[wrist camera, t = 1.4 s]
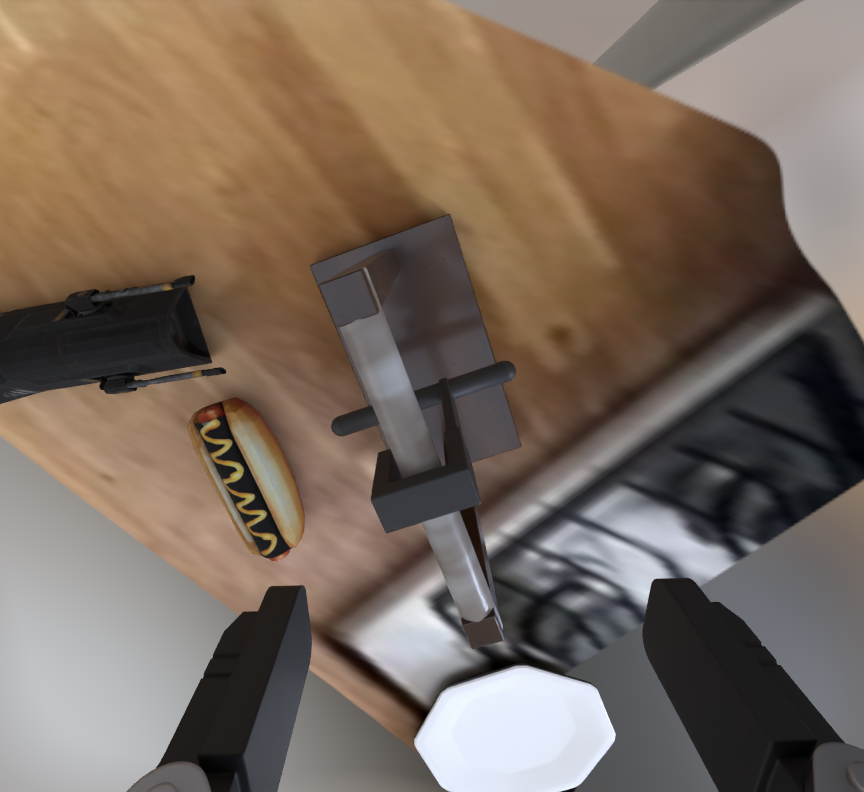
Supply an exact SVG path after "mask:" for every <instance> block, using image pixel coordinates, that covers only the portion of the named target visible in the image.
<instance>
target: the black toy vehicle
mask: <svg viewBox="0 0 864 792" xmlns="http://www.w3.org/2000/svg"><path fill="white" fill-rule="evenodd" d="M194 282H195V276H194V275H191V276H184V277H181V278H179V279H177V280H175V281H174V282H170V283H165V284H159V285H153V286H147V287H141V288H139V287H134V288H130V289H128V288H126V289H124V290H116V291H110V290H106V291H105V292H101V293H100V292H99V291H98V290H96V289H93V290H87V291H81V292H76V293H73V294H71V295H69V296H68V297H67V298H66V301H65V302H59V303H53V304H47V305H41V306H35V307H30V308H24V309H19V310H14V311H11V312H5V313H0V404H1V403H5V402H8V401H12V400H15V399H19V398H22V397H25V396H29V395H32V394H36V393H40V392H43V391H47V390H53V389H60V388H67V387H73V386H79V385H85V384H91V383H97V382H101V383H100V385H99V387H100V389H101V390H104V391H105V392H106V394H119V393H127V392H131V391H136V390H137V387H146V386H147V385H150V384H155V383H157V384H158V383H165V382H171V381H177V380H183V379H189V378H195V377H201V376H205V375H206V376H213V375H220V374H225V373H226V370H225V369H224V368H221V367H220V368H214V369H208V370H199V371H193V372H187V373H181V374H175V375H169V376H163V377H160V378H156V379H150V380H144V381H143V380H134V376H139V375H144V374H149V373H155V372H161V371H167V370H173V369H179V368H185V367H191V366H197V365H203V364H209V363H212V360H211V357H210V354H209V351H208V348H207V346H206V343H205V340H204V337H203V334H202V331H201V328H200V325H199V322H198V319H197V316H196V313H195V310H194V307H193V304H192V301H191V298H190V295H189V292H188V289H187V286H192V285H193V284H194Z"/></svg>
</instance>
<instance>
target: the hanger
mask: <svg viewBox="0 0 864 792" xmlns="http://www.w3.org/2000/svg"><path fill="white" fill-rule="evenodd" d="M515 374H516V369H515V366H514V365H513V364H512V363H511V362H509V361H501V362H498V363H495V364H492V365H489V366H486V367H483V368H480V369H478V370H475V371H472V372H469V373H466V374H463V375H460V376H457V377H454V378H451V379H448V380H447V378H443V379H440V380H439V383H436V384H433V385H430V386H427V387H424V388H421V389H418V390H415V391H414V393H415V396H416V398H417V401H418V404H419V406H420V409H421V410H424V409H427V408H430V407H433V406H436V405H439V404H442V407H443V413H444V420H445V427H446V431H444V435H445V442H446V450H447V457H448V464H447V465H444V466H441V467H438V468H434V469H431V470H428V471H425V472H422V473H419V474H416V475H413V476H410V477H407V478H402V475H401V473H400V471H399V468H398V466H397V464H396V461H395V459H394V456H393V454H392V452H391V449H388V450H385V451H382V452H379V453H378V457H377V463H376V469H375V475H374V481H373V487H372V495H371V502H372V504H373V506H374V508H375V510H376V512H377V515H378V517H379V519H380V521H381V523H382V526H383V528H384V530H385V532H386V533H390V532H393V531H396V530H399V529H402V528H406V527H409V526H412V525H415V524H418V523H422V522H425V521H428V520H431V519H434V518H438V517H441V516H444V515H447V514H450V513H454V512H457V511H460V510H463V509H466V508H470V507H473V506H476V505H479V504H480V503H481V501H480V496H479V492H478V488H477V484H476V480H475V475H474V471H473V467H472V463H471V459H470V455H469V452H468V450H467V447H466V444H465V441H464V438H463V434H462V430H461V425H460V421H459V417H458V412H457V408H456V403H455V400H454V399H457V398H460V397H463V396H466V395H469V394H472V393H475V392H478V391H481V390H484V389H487V388H490V387H493V386H496V385H499V384H502V383H505V382H508V381H510V380H512V379H513V378H514V376H515ZM379 424H380V423H379V421H378V418H377V416H376V414H375V411H374V409H373V406H372V405H371V406H368V407H365V408H362V409H359V410H356V411H353V412H350V413H347V414H344V415H341V416H338V417H336V418H335V419H334V420H333V422H332V425H331V428H332V431H333V432H334V434H336V435H338V436H346V435H349V434H352V433H355V432H358V431H361V430H364V429H367V428H370V427H373V426H376V425H379Z"/></svg>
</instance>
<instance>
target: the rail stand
mask: <svg viewBox="0 0 864 792" xmlns="http://www.w3.org/2000/svg"><path fill="white" fill-rule="evenodd" d="M310 268H311V271H312V273H313V275H314V278H315V280H316V282H317V285H318V287H319V289H320V292H321V294H322V297H323V299H324V301H325V304H326V306H327V308H328V311H329V313H330V316H331V318H332V320H333V323H334V325H335V327H336V330H337V332H338V334H339V337H340V339H341V342H342V344H343V346H344V349H345V351H346V353H347V356H348V358H349V360H350V363H351V365H352V368H353V370H354V372H355V375H356V377H357V379H358V382H359V384H360V386H361V389H362V391H363V394H364V396H365V398H366V401H367V403H368V405H369V406H371V405H372V406H373V409H374V411H375V414H376V416H377V418H378V421H379V423H380V424H379V425H377V427H378V429H379V431H380V434H381V436H382V438H383V441H384V443H385V446H386V448H387V450H388V449H391V452H392V454H393V456H394V459H395V461H396V464H397V466H398V468H399V471H400V473H401V475H402V478H407V477H410V476H413V475H416V474H419V473H422V472H425V471H428V470H431V469H434V468H438V467H441V466H444V465H447V464H448V457H447V450H446V442H445V435H444V431H446V427H445V420H444V413H443V407H442V404H439V405H436V406H433V407H430V408H427V409H424V410H421V409H420V406H419V404H418V401H417V398H416V396H415V393H414V391H415V390H418V389H421V388H424V387H427V386H430V385H433V384H436V383H439V380H440V379H443V378H447V380H448V379H451V378H454V377H457V376H460V375H463V374H466V373H469V372H472V371H475V370H478V369H480V368H483V367H486V366H489V365H492V364H495V363H496V362H495V359H494V356H493V352H492V349H491V346H490V343H489V339H488V336H487V333H486V330H485V326H484V323H483V320H482V317H481V313H480V310H479V307H478V304H477V300H476V297H475V294H474V291H473V287H472V284H471V281H470V278H469V274H468V271H467V268H466V265H465V261H464V258H463V255H462V252H461V248H460V245H459V242H458V239H457V235H456V232H455V229H454V226H453V222H452V219H451V216H450V214H447V215H445V216H442V217H439V218H437V219H434V220H431V221H428V222H426V223H423V224H420V225H418V226H415V227H412V228H409V229H407V230H404V231H401V232H399V233H396V234H393V235H391V236H388V237H385V238H382V239H380V240H377V241H374V242H372V243H369V244H366V245H363V246H361V247H358V248H355V249H353V250H350V251H347V252H344V253H342V254H339V255H336V256H334V257H331V258H328V259H325V260H323V261H320V262H317V263H315V264H312V265H310ZM454 400H455V403H456V408H457V412H458V417H459V421H460V425H461V430H462V434H463V438H464V441H465V444H466V447H467V450H468V452H469V455H470V459H471V463H472V462H475V461H478V460H482V459H485V458H488V457H491V456H494V455H497V454H501V453H504V452H507V451H510V450H513V449H516V448H520V447H521V443H520V440H519V437H518V434H517V430H516V427H515V424H514V421H513V417H512V414H511V411H510V408H509V404H508V401H507V398H506V395H505V391H504V388H503V385H502V384H499V385H496V386H493V387H490V388H487V389H484V390H481V391H478V392H475V393H472V394H469V395H466V396H463V397H460V398H457V399H454ZM422 525H423V528H424V530H425V533H426V535H427V537H428V540H429V542H430V545H431V547H432V549H433V552H434V554H435V556H436V559H437V561H438V564H439V566H440V568H441V571H442V573H443V575H444V578H445V580H446V583H447V585H448V587H449V590H450V592H451V595H452V597H453V599H454V602H455V604H456V606H457V609H458V611H459V614H460V616H461V622H462V627H463V629H464V631H465V634H466V636H467V639H468V641H469V643H470V646H471V648H472V649H475V648H478V647H482V646H485V645H489V644H493V643H496V642H500V641H503V640H504V635H503V630H502V629H503V625H502V621H501V619H500V615H499V610H498V605H497V600H496V595H495V591H494V586H493V581H492V576H491V571H490V566H489V561H488V556H487V551H486V546H485V541H484V536H483V531H482V526H481V521H480V517H479V512H478V507H477V505H476V506H473V507H470V508H466V509H463V510H460V511H457V512H454V513H450V514H447V515H444V516H441V517H438V518H434V519H431V520H428V521H425V522H422Z"/></svg>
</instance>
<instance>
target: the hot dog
mask: <svg viewBox="0 0 864 792" xmlns="http://www.w3.org/2000/svg"><path fill="white" fill-rule="evenodd" d="M188 430H189V435H190V438H191V440H192V443H193V446H194V449H195V451H196V453H197V455H198V457H199V459H200V461H201V463H202V464H203V466H204V468H205V470H206V472H207V474H208V476H209V478H210V480H211V482H212V484H213V486H214V487H215V489H216V491H217V493H218V495H219V497H220V499H221V501H222V503H223V505H224V506H225V508H226V510H227V512H228V514H229V516H230V518H231V520H232V522H233V524H234V525H235V527H236V529H237V531H238V533H239V535H240V537H241V539H242V540H243V542H244V543H245V545H246V546H247V548H248V549H249V550H250V552H251V553H252V554H256V555H260V556H263V557H265V558H269V559H270V560H272V561H279V560H281V559H283V558H285V557H286V556H287V555H288V553H289V552H290V549H291V548H294V547H296V546H297V545H298V543H299V541H300V540H301V538H302V535H303V533H304V522H305V515H304V508H303V505H302V502H301V498H300V495H299V491H298V488H297V485H296V481H295V478H294V475H293V473H292V471H291V469H290V467H289V464H288V462H287V460H286V458H285V455H284V453H283V451H282V449H281V447H280V444H279V443H278V441H277V440H276V438H275V436H274V435H273V433H272V432H271V430H270V428H269V427H268V425H267V424H266V422H265V420H264V419H263V417H262V416H261V414H260V413H259V412H258V411H257V410H256V409H254V408H253V407H252V406H251V405H249V404H248V403H247V402H245V401H243V400H240V399H238V398H233V399H229V400H225V401H221V402H218V403H215V404H212V405H209V406H206V407H204V408H202V409H200V410H199V411H197V412H196V413H194V414H193V416H192V418H191V420H190V422H189V424H188Z"/></svg>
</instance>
